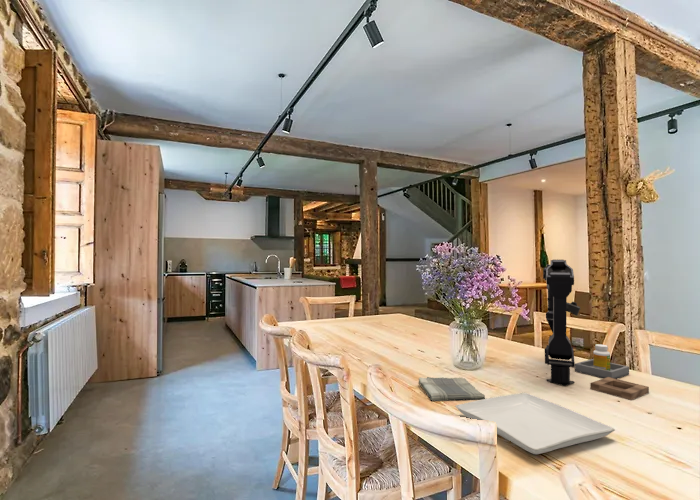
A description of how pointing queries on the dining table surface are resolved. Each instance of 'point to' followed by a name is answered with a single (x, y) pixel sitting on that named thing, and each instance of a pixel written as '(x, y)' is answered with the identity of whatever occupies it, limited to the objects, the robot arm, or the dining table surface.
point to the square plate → (535, 422)
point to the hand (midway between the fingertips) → (556, 334)
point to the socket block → (619, 388)
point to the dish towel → (449, 389)
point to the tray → (614, 372)
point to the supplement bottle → (601, 357)
